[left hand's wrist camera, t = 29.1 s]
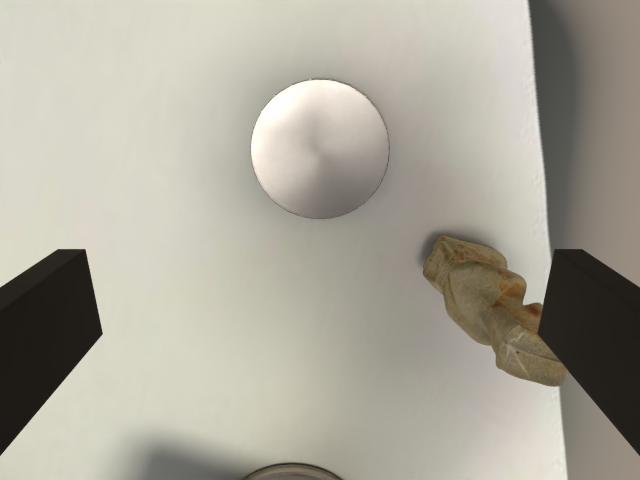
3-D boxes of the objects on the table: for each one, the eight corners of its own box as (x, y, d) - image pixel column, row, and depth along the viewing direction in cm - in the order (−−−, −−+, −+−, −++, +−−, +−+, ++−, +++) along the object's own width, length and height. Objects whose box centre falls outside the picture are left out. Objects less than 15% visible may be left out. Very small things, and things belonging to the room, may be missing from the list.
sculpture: (474, 298, 41) (554, 414, 27) (407, 270, 40) (454, 374, 26) (508, 246, 39) (612, 341, 25) (439, 215, 38) (508, 296, 24)
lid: (236, 188, 38) (232, 193, 36) (276, 56, 34) (274, 55, 32) (357, 230, 39) (358, 237, 37) (408, 107, 35) (412, 109, 34)
